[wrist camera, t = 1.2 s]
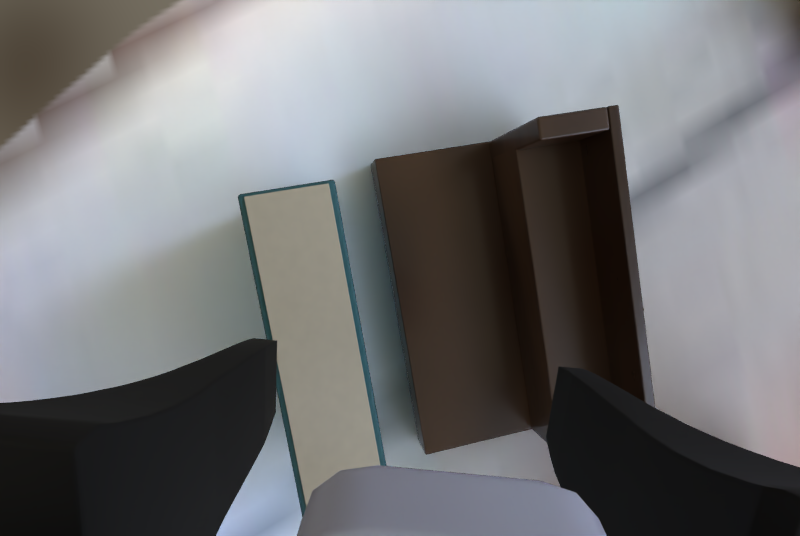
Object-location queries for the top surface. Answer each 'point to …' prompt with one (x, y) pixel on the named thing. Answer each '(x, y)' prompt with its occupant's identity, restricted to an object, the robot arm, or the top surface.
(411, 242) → the step shelf
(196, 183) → the top surface
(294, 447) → the book
